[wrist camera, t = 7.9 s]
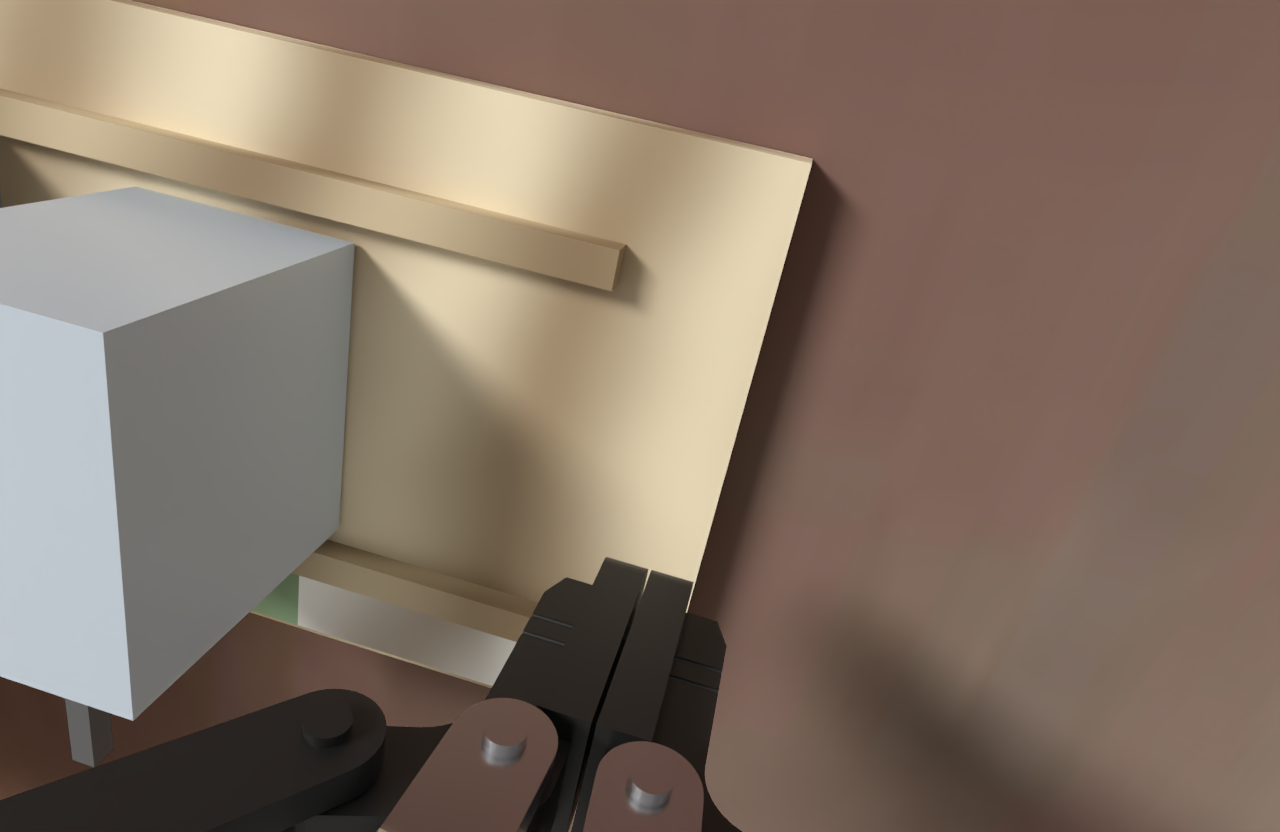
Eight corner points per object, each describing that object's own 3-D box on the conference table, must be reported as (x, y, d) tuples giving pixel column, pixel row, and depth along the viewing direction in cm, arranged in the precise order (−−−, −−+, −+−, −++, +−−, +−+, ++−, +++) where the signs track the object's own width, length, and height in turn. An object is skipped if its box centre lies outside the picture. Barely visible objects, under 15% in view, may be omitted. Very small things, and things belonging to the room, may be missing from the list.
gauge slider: (355, 242, 17) (103, 333, 11) (332, 641, 21) (143, 860, 15) (52, 164, 18) (-337, 209, 12) (90, 565, 22) (-179, 746, 16)
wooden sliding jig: (812, 158, 15) (804, 230, 8) (659, 710, 21) (575, 1038, 14) (-106, -55, 18) (-758, -147, 10) (-19, 500, 23) (-398, 691, 16)
